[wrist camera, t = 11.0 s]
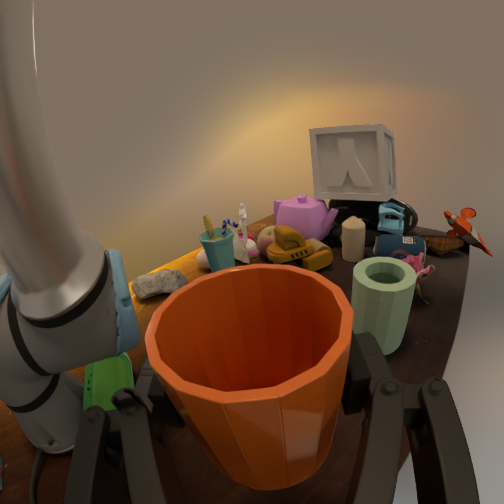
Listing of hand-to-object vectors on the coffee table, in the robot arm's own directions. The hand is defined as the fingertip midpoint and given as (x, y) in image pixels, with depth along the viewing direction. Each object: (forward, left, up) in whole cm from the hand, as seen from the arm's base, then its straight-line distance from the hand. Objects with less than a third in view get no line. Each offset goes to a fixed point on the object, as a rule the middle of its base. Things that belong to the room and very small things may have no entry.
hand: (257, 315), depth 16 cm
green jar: (+22, -10, -22) cm, 33 cm away
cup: (+37, +23, -22) cm, 49 cm away
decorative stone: (+29, +36, -22) cm, 51 cm away
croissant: (+54, -29, -17) cm, 64 cm away
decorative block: (+65, -7, -11) cm, 66 cm away
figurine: (+51, +24, -21) cm, 60 cm away
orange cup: (-5, -2, -6) cm, 8 cm away
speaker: (-4, +26, -16) cm, 31 cm away
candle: (+49, -5, -22) cm, 54 cm away
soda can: (+46, -23, -19) cm, 55 cm away
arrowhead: (+47, +26, -14) cm, 55 cm away
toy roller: (+43, +7, -22) cm, 49 cm away
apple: (+50, +13, -22) cm, 56 cm away
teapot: (+58, +8, -22) cm, 63 cm away
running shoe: (+67, -9, -16) cm, 70 cm away
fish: (+51, -38, -16) cm, 66 cm away
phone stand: (+54, -15, -22) cm, 60 cm away
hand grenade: (+62, 0, -20) cm, 65 cm away
